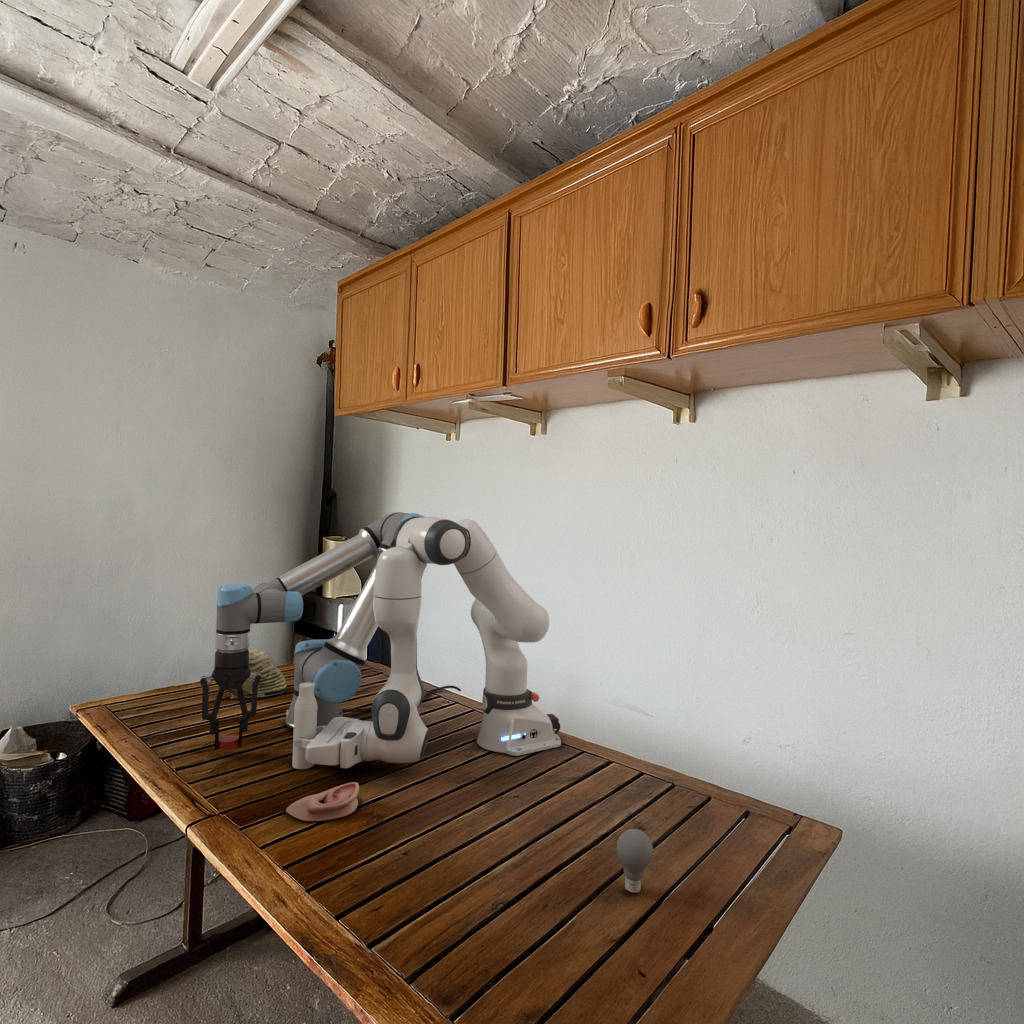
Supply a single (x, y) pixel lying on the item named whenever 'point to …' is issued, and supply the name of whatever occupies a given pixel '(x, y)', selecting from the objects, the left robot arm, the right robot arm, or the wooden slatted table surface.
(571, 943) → the wooden slatted table surface
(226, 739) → the cap
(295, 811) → the anatomical model
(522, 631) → the right robot arm
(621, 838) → the light bulb
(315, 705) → the bottle
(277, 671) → the fossil
